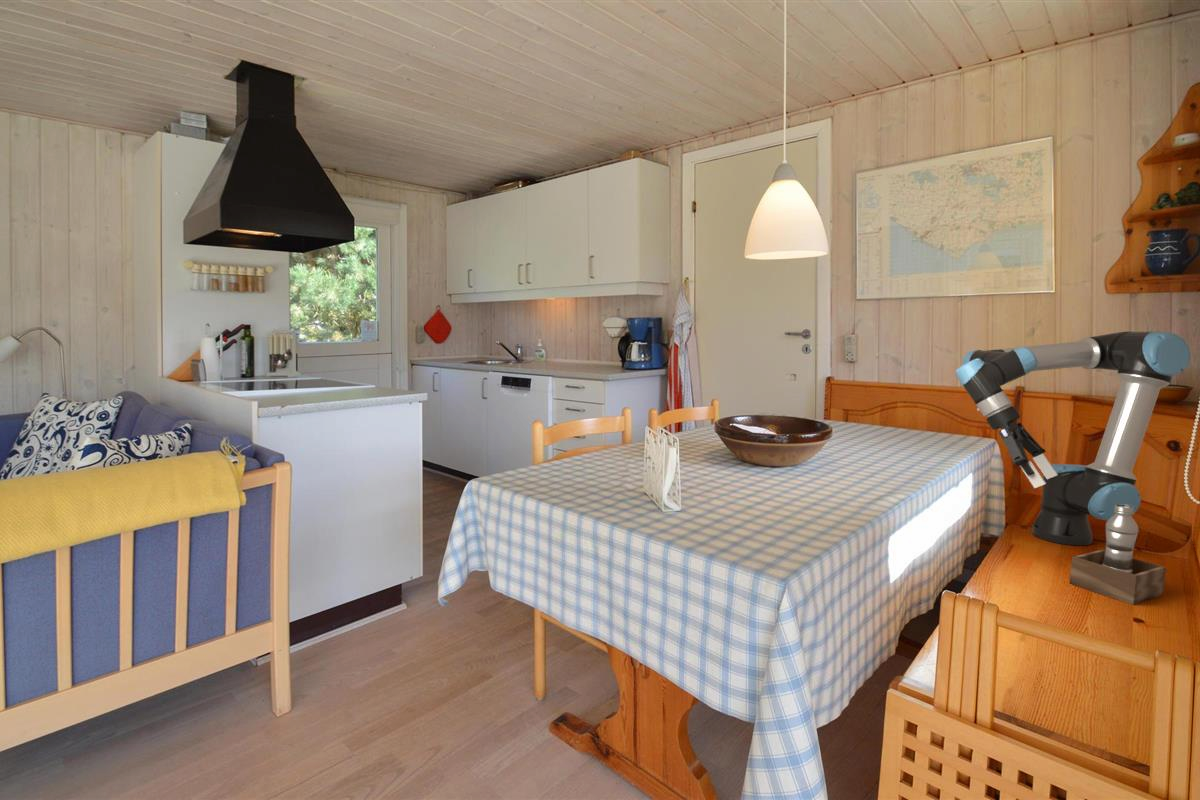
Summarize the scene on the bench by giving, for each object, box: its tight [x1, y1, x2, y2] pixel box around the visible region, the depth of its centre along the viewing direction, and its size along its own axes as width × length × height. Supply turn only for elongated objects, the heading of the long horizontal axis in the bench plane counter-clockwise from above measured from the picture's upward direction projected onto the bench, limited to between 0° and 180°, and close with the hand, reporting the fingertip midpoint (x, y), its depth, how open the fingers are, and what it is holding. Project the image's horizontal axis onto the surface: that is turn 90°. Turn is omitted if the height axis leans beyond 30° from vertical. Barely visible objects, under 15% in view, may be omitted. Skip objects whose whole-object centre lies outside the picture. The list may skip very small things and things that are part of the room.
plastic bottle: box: [1102, 504, 1139, 574], centre depth 158 cm, size 6×7×20 cm
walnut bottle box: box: [1068, 549, 1167, 606], centre depth 158 cm, size 14×14×7 cm
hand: (1046, 481), depth 169 cm, fingers open, 13 cm apart
